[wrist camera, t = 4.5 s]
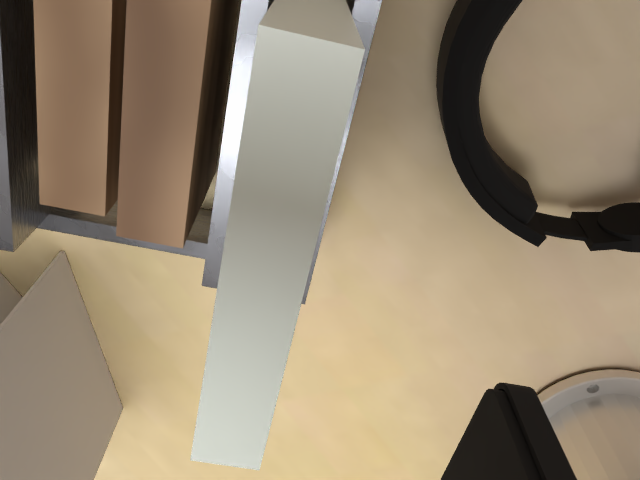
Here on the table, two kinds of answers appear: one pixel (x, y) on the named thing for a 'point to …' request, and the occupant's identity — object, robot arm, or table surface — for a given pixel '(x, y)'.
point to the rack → (28, 214)
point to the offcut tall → (171, 113)
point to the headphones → (479, 158)
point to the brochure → (52, 382)
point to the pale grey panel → (274, 218)
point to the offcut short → (79, 101)
